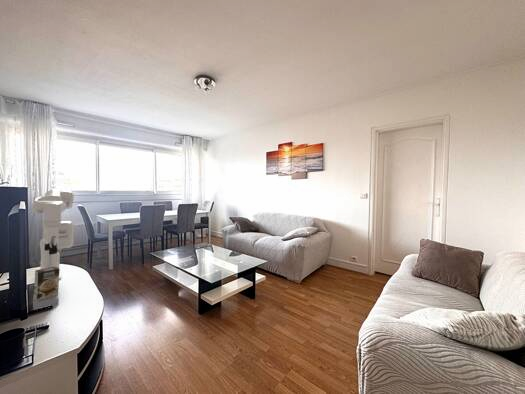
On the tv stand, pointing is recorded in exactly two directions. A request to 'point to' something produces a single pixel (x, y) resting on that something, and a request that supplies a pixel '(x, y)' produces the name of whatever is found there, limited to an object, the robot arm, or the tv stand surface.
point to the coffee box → (46, 283)
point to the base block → (46, 302)
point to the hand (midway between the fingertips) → (50, 252)
